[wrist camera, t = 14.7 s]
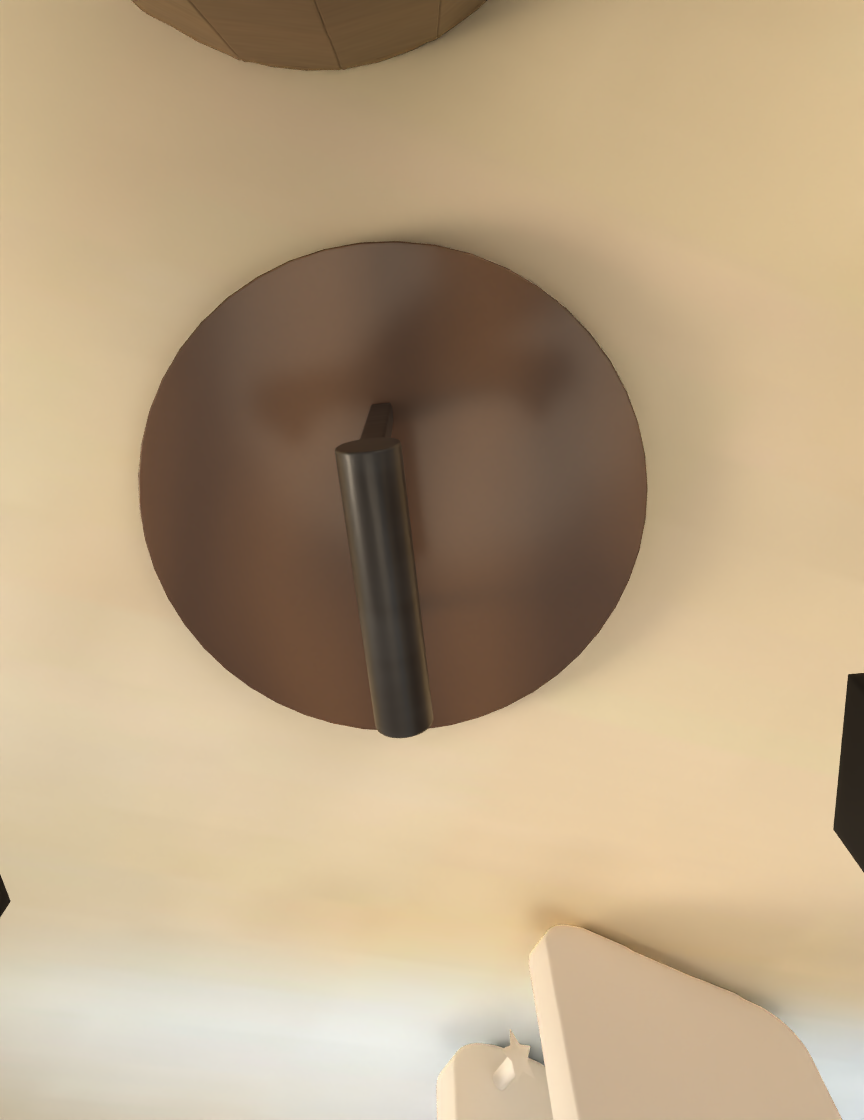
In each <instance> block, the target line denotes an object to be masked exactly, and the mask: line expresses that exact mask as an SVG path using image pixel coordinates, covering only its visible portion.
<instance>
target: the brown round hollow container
mask: <svg viewBox="0 0 864 1120" xmlns="http://www.w3.org/2000/svg"><path fill="white" fill-rule="evenodd" d="M131 1H132V2H134V3H135V4H136V5H137V6H138V7H139V8H140V9H141V10H142V11H144V12H146V13H147V14H148V15H150V16H152V17H154V18H156V19H158V20H160V21H162V22H164V23H166V24H168V25H170V26H172V27H174V28H175V29H177V30H179V31H180V32H182V33H184V34H186V35H187V36H189V37H191V38H192V39H194V40H196V41H197V42H200V43H202V44H204V45H207V46H209V47H211V48H214V49H216V50H219V51H221V52H223V53H226V54H228V55H230V56H232V57H234V58H236V59H238V60H242V61H244V62H254V63H259V64H263V65H266V66H270V67H279V68H288V69H297V70H306V71H308V70H340V69H343V70H344V69H347V68H351V67H356V66H362V65H367V64H372V63H377V62H380V61H383V60H386V59H389V58H392V57H395V56H397V55H400V54H403V53H406V52H409V51H412V50H414V49H416V48H418V47H419V46H421V45H423V44H425V43H427V42H430V41H433V40H435V39H437V38H439V37H440V36H442V35H443V34H444V33H446V32H447V31H449V30H450V29H451V28H453V27H454V26H456V25H457V24H458V23H460V22H461V21H462V20H464V19H465V18H467V17H468V16H469V15H471V14H472V13H473V12H475V11H476V10H477V9H479V8H480V7H481V6H482V5H483V4H484V3H485V2H486V1H487V0H131Z"/></svg>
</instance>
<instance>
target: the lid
mask: <svg viewBox="0 0 864 1120" xmlns="http://www.w3.org/2000/svg"><path fill="white" fill-rule="evenodd" d="M138 478H139V506H140V513H141V519H142V524H143V530H144V536H145V541H146V544H147V547H148V550H149V553H150V556H151V560H152V563H153V566H154V569H155V571H156V574H157V576H158V578H159V580H160V582H161V584H162V586H163V589H164V591H165V593H166V595H167V597H168V599H169V601H170V602H171V604H172V605H173V607H174V608H175V610H176V612H177V613H178V615H179V616H180V618H181V620H182V621H183V623H184V624H185V626H186V627H187V628H188V629H189V630H190V632H191V633H192V634H193V635H194V636H195V638H196V639H197V640H198V641H199V643H200V644H201V645H202V646H203V647H204V649H206V650H207V651H208V652H209V653H210V654H211V655H212V656H213V657H214V658H215V659H216V660H217V661H218V662H219V663H220V664H221V665H222V666H223V667H224V668H225V669H227V670H228V671H229V672H231V673H232V674H233V675H235V676H236V677H237V678H239V679H240V680H241V681H243V682H244V683H245V684H247V685H248V686H249V687H251V688H252V689H254V690H256V691H258V692H259V693H261V694H263V695H264V696H266V697H268V698H270V699H271V700H273V701H275V702H277V703H279V704H281V705H283V706H286V707H288V708H290V709H293V710H295V711H297V712H299V713H302V714H304V715H307V716H311V717H314V718H317V719H320V720H324V721H327V722H330V723H334V724H339V725H345V726H350V727H355V728H361V729H373V730H378V731H379V732H380V733H381V734H383V735H385V736H388V737H392V738H407V737H412V736H415V735H418V734H420V733H422V732H424V731H425V730H427V729H429V728H435V727H442V726H448V725H453V724H457V723H460V722H464V721H468V720H471V719H475V718H479V717H481V716H484V715H486V714H489V713H491V712H494V711H496V710H499V709H501V708H504V707H506V706H508V705H510V704H512V703H514V702H516V701H517V700H519V699H521V698H523V697H525V696H527V695H528V694H530V693H532V692H534V691H535V690H537V689H538V688H539V687H541V686H542V685H544V684H545V683H546V682H548V681H549V680H551V679H552V678H553V677H555V676H556V675H558V674H559V673H560V672H561V671H562V670H563V669H564V668H565V667H566V666H568V665H569V664H570V663H571V662H572V661H573V660H574V659H575V658H576V657H577V656H579V655H580V653H581V652H582V651H583V650H584V649H585V648H586V646H587V645H588V644H589V643H590V642H591V641H592V640H593V638H594V637H595V636H596V635H597V634H598V633H599V631H600V630H601V628H602V627H603V625H604V624H605V622H606V621H607V619H608V618H609V616H610V615H611V613H612V612H613V610H614V609H615V607H616V605H617V603H618V601H619V599H620V597H621V595H622V593H623V591H624V589H625V587H626V585H627V583H628V581H629V579H630V576H631V573H632V570H633V567H634V564H635V561H636V558H637V555H638V552H639V549H640V544H641V539H642V534H643V529H644V524H645V518H646V502H647V476H646V462H645V453H644V448H643V444H642V439H641V434H640V430H639V425H638V422H637V419H636V416H635V413H634V411H633V408H632V405H631V402H630V400H629V397H628V394H627V391H626V390H625V388H624V386H623V384H622V382H621V380H620V378H619V376H618V375H617V373H616V371H615V369H614V367H613V365H612V363H611V361H610V360H609V359H608V357H607V356H606V355H605V353H604V352H603V350H602V349H601V348H600V346H599V345H598V344H597V342H596V341H595V339H594V338H593V337H592V335H591V334H590V333H589V332H588V331H587V330H586V329H585V328H584V327H583V326H582V325H581V324H580V322H579V321H578V320H577V319H576V318H575V317H574V316H573V315H572V314H571V313H570V312H569V311H568V310H567V309H566V308H565V307H564V306H562V305H561V304H560V303H558V302H557V301H556V300H555V299H553V298H552V297H551V296H549V295H548V294H547V293H546V292H544V291H543V290H542V289H541V288H539V287H538V286H537V285H535V284H533V283H531V282H530V281H528V280H526V279H524V278H523V277H521V276H519V275H517V274H516V273H514V272H512V271H510V270H509V269H507V268H505V267H503V266H500V265H498V264H495V263H493V262H490V261H488V260H485V259H483V258H480V257H478V256H475V255H473V254H470V253H466V252H462V251H458V250H454V249H450V248H445V247H441V246H437V245H431V244H421V243H411V242H401V241H389V242H364V243H356V244H351V245H345V246H340V247H334V248H329V249H324V250H321V251H318V252H315V253H312V254H309V255H306V256H303V257H300V258H297V259H294V260H291V261H288V262H286V263H284V264H282V265H280V266H278V267H276V268H274V269H272V270H270V271H268V272H266V273H264V274H262V275H260V276H258V277H257V278H255V279H254V280H252V281H251V282H249V283H248V284H247V285H245V286H244V287H242V288H241V289H239V290H238V291H237V292H235V293H234V294H232V295H231V296H229V297H228V298H227V299H226V300H225V301H224V302H222V303H221V304H220V305H219V306H218V307H217V308H216V309H215V310H214V311H213V312H212V313H211V314H210V315H209V316H208V317H206V318H205V319H204V320H203V321H202V322H201V323H200V325H199V326H198V327H197V328H196V330H195V331H194V332H193V333H192V335H191V336H190V337H189V338H188V340H187V341H186V342H185V343H184V345H183V346H182V347H181V349H180V350H179V352H178V353H177V355H176V357H175V358H174V360H173V362H172V364H171V365H170V367H169V369H168V370H167V372H166V374H165V376H164V377H163V379H162V381H161V384H160V386H159V389H158V391H157V394H156V396H155V399H154V401H153V404H152V406H151V409H150V411H149V415H148V419H147V423H146V427H145V432H144V436H143V440H142V445H141V455H140V464H139V474H138Z"/></svg>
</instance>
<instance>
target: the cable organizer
mask: <svg viewBox="0 0 864 1120" xmlns="http://www.w3.org/2000/svg"><path fill="white" fill-rule="evenodd" d="M529 968H530V975H531V981H532V987H533V994H534V1000H535V1006H536V1013H537V1019H538V1025H539V1032H540V1038H541V1044H542V1051H543V1057H544V1063H545V1066H544V1065H542V1064H541V1063H539V1062H537V1061H535V1060H532V1059H530V1058H528V1055H529V1051H530V1046H528V1045H521V1044H519V1043H518V1041H517V1039H516V1038H515V1036H514V1034H513V1033H512V1031H511V1029H510V1046H507V1047H505V1048H502V1047H499V1046H496V1045H492V1044H483V1043H472V1044H468V1045H465V1046H463V1047H461V1048H460V1049H459V1050H458V1051H457V1052H456V1053H455V1055H454V1056H453V1057H452V1058H451V1060H450V1061H449V1062H448V1063H447V1065H446V1066H445V1067H444V1069H443V1070H442V1071H441V1073H440V1074H439V1076H438V1079H437V1086H436V1093H437V1120H842V1118H841V1116H840V1114H839V1112H838V1110H837V1108H836V1106H835V1104H834V1102H833V1100H832V1098H831V1096H830V1094H829V1092H828V1090H827V1088H826V1086H825V1084H824V1082H823V1080H822V1078H821V1076H820V1074H819V1072H818V1069H817V1067H816V1065H815V1063H814V1061H813V1059H812V1057H811V1056H810V1054H809V1052H808V1050H807V1049H806V1047H805V1046H804V1044H803V1043H802V1042H801V1040H800V1039H799V1038H798V1037H797V1036H796V1034H795V1033H794V1032H793V1031H792V1030H791V1029H790V1028H789V1027H788V1026H787V1025H786V1024H784V1023H783V1022H782V1021H781V1020H780V1019H779V1018H777V1017H776V1016H774V1015H773V1014H772V1013H770V1012H769V1011H767V1010H766V1009H764V1008H762V1007H760V1006H758V1005H756V1004H754V1003H752V1002H749V1001H747V1000H745V999H743V998H742V997H741V996H739V995H737V994H735V993H733V992H730V991H728V990H725V989H723V988H720V987H718V986H716V985H713V984H711V983H708V982H706V981H703V980H701V979H698V978H695V977H692V976H690V975H687V974H685V973H683V972H680V971H678V970H676V969H673V968H671V967H669V966H667V965H664V964H662V963H660V962H657V961H655V960H653V959H650V958H648V957H646V956H643V955H641V954H639V953H637V952H634V951H632V950H631V949H629V948H628V947H626V946H623V945H621V944H619V943H617V942H614V941H612V940H610V939H607V938H605V937H603V936H600V935H598V934H596V933H594V932H591V931H589V930H587V929H584V928H582V927H578V926H571V925H555V926H553V927H551V928H549V929H548V930H547V932H546V933H545V934H544V935H543V937H542V938H541V939H540V941H539V942H538V943H537V944H536V946H535V947H534V948H533V949H532V951H531V953H530V955H529Z"/></svg>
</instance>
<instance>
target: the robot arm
mask: <svg viewBox="0 0 864 1120" xmlns="http://www.w3.org/2000/svg"><path fill="white" fill-rule="evenodd" d="M833 830H834V831H835V832H836V834H837V835H838V837H839V838H840V839H841V841H842V842H843V844H844V845H845V846H846V848H847V849H848V851H849V852H850V854H851V855H852V856H853V858H854V859H855V861H856V862H857V863H858V865H859V866H860V868H861V869H862V871H863V872H864V673H858V674H848V682H847V693H846V703H845V714H844V724H843V735H842V745H841V755H840V766H839V776H838V787H837V797H836V808H835V818H834V828H833ZM9 903H10V899H9V896H8V893H7V891H6V888H5V886H4V883H3V880H2V878H1V875H0V917H1V915H2V914H3V912H4V911H5V909H6V908H7V906H8V904H9Z"/></svg>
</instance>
